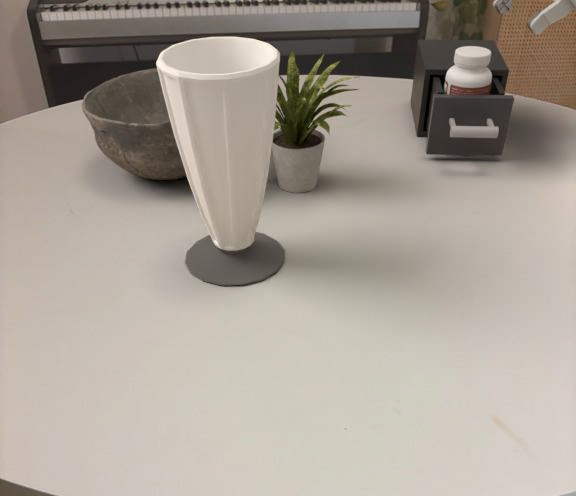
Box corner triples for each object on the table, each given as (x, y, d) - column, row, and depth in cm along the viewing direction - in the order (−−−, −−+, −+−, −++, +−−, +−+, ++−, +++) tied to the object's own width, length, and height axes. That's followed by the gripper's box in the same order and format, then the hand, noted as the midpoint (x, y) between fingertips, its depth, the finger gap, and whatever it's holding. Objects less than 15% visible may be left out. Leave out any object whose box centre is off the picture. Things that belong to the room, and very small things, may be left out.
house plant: (313, 225, 78) (316, 86, 67) (222, 197, 84) (210, 64, 72) (367, 179, 87) (377, 49, 75) (281, 156, 92) (279, 31, 81)
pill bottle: (490, 138, 91) (507, 54, 83) (454, 146, 89) (469, 61, 82) (463, 122, 95) (477, 41, 87) (428, 130, 93) (440, 47, 86)
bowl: (128, 131, 99) (115, 62, 92) (258, 139, 96) (255, 69, 90) (73, 195, 85) (52, 118, 78) (224, 206, 82) (217, 128, 75)
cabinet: (494, 137, 96) (509, 70, 89) (416, 136, 97) (425, 69, 90) (481, 103, 106) (493, 40, 99) (410, 102, 106) (417, 39, 100)
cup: (304, 249, 74) (305, 47, 59) (245, 299, 68) (230, 85, 53) (226, 222, 79) (208, 29, 64) (163, 266, 72) (128, 61, 57)
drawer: (507, 170, 86) (521, 111, 81) (429, 169, 87) (437, 110, 81) (487, 120, 98) (498, 66, 93) (419, 119, 99) (426, 65, 94)
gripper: (671, -41, 72) (566, 61, 77) (574, -71, 86) (492, 17, 92) (649, -87, 68) (541, 23, 73) (552, -111, 82) (468, -17, 88)
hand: (513, 19), depth 83 cm, fingers open, 8 cm apart
